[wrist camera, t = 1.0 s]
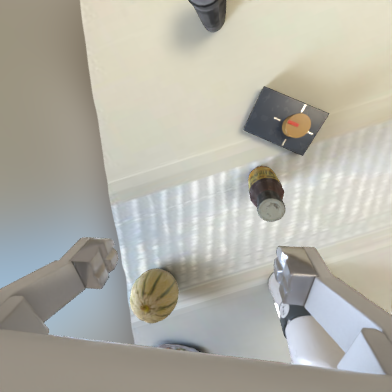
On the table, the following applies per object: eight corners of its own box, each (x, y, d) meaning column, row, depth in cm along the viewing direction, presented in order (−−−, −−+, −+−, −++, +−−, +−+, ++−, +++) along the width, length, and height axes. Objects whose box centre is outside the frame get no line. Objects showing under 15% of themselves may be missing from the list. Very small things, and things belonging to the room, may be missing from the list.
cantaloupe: (155, 296, 69) (134, 338, 55) (136, 264, 65) (109, 300, 51) (191, 290, 64) (178, 334, 50) (172, 255, 61) (153, 292, 47)
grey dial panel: (323, 114, 40) (330, 113, 37) (298, 154, 43) (303, 155, 40) (262, 88, 40) (264, 85, 38) (243, 129, 44) (243, 129, 41)
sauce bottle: (270, 161, 45) (293, 184, 27) (276, 185, 47) (302, 222, 28) (243, 169, 47) (247, 196, 29) (250, 192, 49) (258, 231, 30)
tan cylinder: (309, 119, 38) (316, 118, 34) (297, 140, 40) (302, 141, 36) (289, 111, 38) (294, 109, 35) (277, 132, 40) (281, 132, 36)
